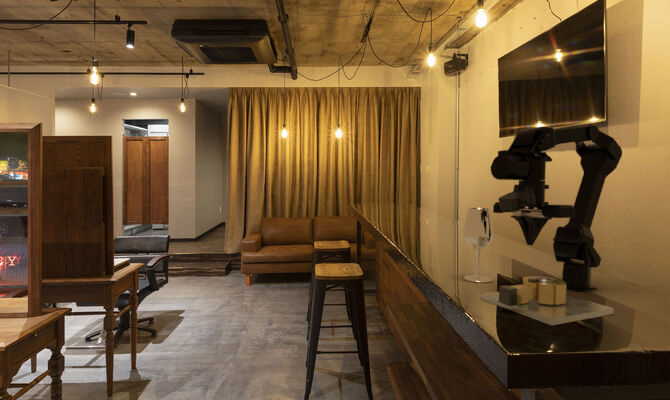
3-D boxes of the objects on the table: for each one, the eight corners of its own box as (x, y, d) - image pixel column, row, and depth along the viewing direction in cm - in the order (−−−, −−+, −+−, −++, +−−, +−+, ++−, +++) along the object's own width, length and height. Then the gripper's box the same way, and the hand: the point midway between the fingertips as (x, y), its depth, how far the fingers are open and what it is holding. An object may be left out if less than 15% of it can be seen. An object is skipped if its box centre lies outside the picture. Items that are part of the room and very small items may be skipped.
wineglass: (491, 277, 109) (493, 208, 108) (493, 284, 102) (495, 209, 101) (463, 275, 111) (464, 207, 111) (462, 281, 104) (464, 208, 103)
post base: (537, 291, 95) (537, 267, 94) (613, 313, 78) (614, 285, 78) (481, 299, 88) (481, 273, 87) (551, 325, 71) (552, 293, 71)
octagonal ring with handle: (489, 299, 82) (490, 278, 82) (540, 292, 88) (541, 272, 88) (519, 310, 75) (520, 287, 75) (573, 302, 80) (574, 280, 80)
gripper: (477, 180, 97) (476, 241, 97) (542, 179, 79) (540, 253, 80) (510, 181, 101) (508, 239, 101) (578, 180, 84) (576, 250, 84)
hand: (530, 245), depth 92 cm, fingers closed
